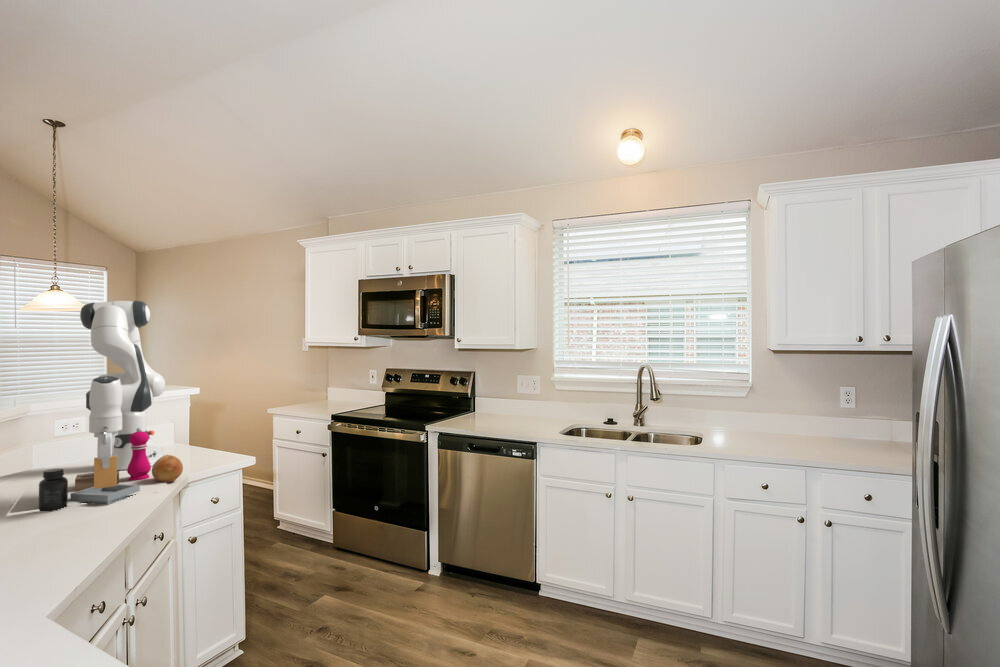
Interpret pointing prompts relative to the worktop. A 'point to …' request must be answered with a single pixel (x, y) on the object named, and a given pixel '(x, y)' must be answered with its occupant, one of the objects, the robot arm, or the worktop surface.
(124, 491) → the tray
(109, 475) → the orange tan rectangular panel
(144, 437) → the pepper mill
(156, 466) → the onion
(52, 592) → the worktop surface
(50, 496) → the supplement bottle
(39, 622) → the worktop surface
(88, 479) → the dispenser
